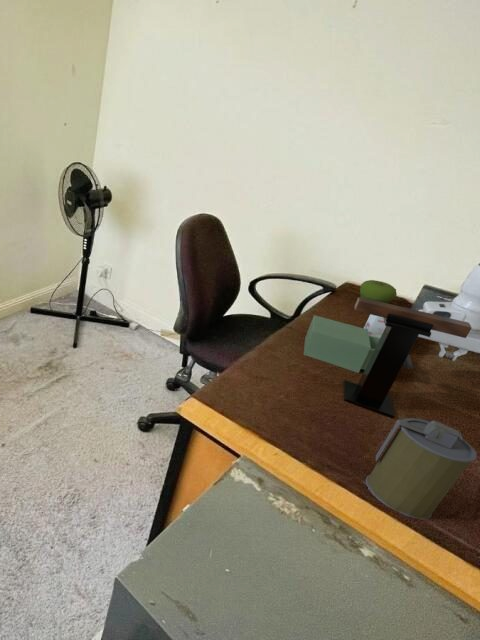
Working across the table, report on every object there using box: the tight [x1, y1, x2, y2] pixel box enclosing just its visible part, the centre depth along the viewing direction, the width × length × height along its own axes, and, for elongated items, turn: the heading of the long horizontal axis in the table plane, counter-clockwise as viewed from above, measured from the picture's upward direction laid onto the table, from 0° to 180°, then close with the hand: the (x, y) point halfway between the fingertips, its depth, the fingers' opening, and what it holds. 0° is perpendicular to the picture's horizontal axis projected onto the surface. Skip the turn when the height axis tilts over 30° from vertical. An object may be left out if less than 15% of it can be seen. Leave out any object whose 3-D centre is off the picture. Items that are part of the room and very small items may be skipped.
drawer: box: [360, 335, 414, 371], centre depth 126 cm, size 17×11×8 cm
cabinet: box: [303, 314, 371, 374], centre depth 131 cm, size 14×13×10 cm
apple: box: [359, 279, 398, 304], centre depth 163 cm, size 11×10×10 cm
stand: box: [342, 314, 433, 420], centre depth 109 cm, size 10×10×28 cm
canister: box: [365, 417, 478, 520], centre depth 83 cm, size 11×10×20 cm
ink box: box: [363, 314, 386, 338], centre depth 135 cm, size 9×5×12 cm, turn 59°
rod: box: [354, 296, 472, 338], centre depth 103 cm, size 20×3×3 cm, turn 51°
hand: (446, 358), depth 116 cm, fingers closed
